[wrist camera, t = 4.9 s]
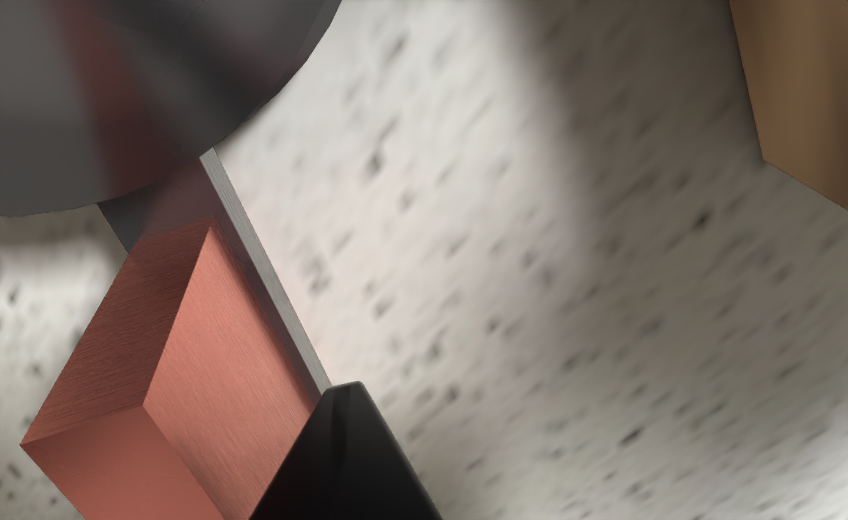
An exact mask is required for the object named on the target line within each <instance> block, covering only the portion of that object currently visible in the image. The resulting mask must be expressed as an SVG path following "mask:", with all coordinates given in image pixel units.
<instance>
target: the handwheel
mask: <svg viewBox="0 0 848 520" xmlns="http://www.w3.org/2000/svg"><path fill="white" fill-rule="evenodd" d="M324 1H325V0H0V216H26V215H33V214H41V213H48V212H55V211H63V210H70V209H75V208H79V207H83V206H86V205H90V204H94V203H97V205H98V206H99V208H100V209H101V211H102V213H103V214H104V216H105V217H106V219H107V221H108V222H109V224H110V225H111V227H112V228H113V230H114V232H115V233H116V235H117V236H118V238H119V240H120V241H121V243H122V244H123V246H124V248H125V249H126V251H127V252H128V254H129V256H128V258H127V259H126V261H125V263H124V265H123V266H122V268H121V270H120V271H119V273H118V275H117V277H116V278H115V280H114V282H113V284H112V285H111V287H110V289H109V291H108V292H107V294H106V296H105V298H104V299H103V301H102V303H101V304H100V306H99V308H98V310H97V311H96V313H95V315H94V317H93V318H92V320H91V322H90V324H89V325H88V327H87V329H86V330H85V332H84V334H83V336H82V337H81V339H80V341H79V343H78V344H77V346H76V348H75V350H74V351H73V353H72V355H71V357H70V358H69V360H68V362H67V363H66V365H65V367H64V369H63V370H62V372H61V374H60V376H59V377H58V379H57V381H56V383H55V384H54V386H53V388H52V389H51V391H50V393H49V395H48V396H47V398H46V400H45V402H44V403H43V405H42V407H41V409H40V410H39V412H38V414H37V416H36V417H35V419H34V421H33V422H32V424H31V426H30V428H29V429H28V431H27V433H26V435H25V436H24V438H23V440H22V442H21V443H20V446H21V447H22V448H23V450H24V451H25V452H26V453H27V454H28V455H29V456H30V457H31V458H32V460H33V461H34V462H35V463H36V464H37V465H38V466H39V467H40V469H41V470H42V471H43V472H44V473H45V474H46V475H47V476H48V477H49V479H50V480H51V481H52V482H53V483H54V484H55V485H56V486H57V488H58V489H59V490H60V491H61V492H62V493H63V494H64V495H65V496H66V498H67V499H68V500H69V501H70V502H71V503H72V504H73V505H74V506H75V508H76V509H77V510H78V511H79V512H80V513H81V514H82V515H83V517H84V518H85V519H86V520H248V519H249V517H250V516H251V514H252V512H253V511H254V509H255V507H256V506H257V504H258V502H259V501H260V499H261V497H262V496H263V494H264V492H265V490H266V489H267V487H268V485H269V484H270V482H271V480H272V479H273V477H274V475H275V474H276V472H277V470H278V469H279V467H280V465H281V464H282V462H283V460H284V458H285V457H286V455H287V453H288V452H289V450H290V448H291V447H292V445H293V443H294V442H295V440H296V438H297V437H298V435H299V433H300V432H301V430H302V428H303V426H304V425H305V423H306V421H307V420H308V418H309V416H310V415H311V413H312V411H313V410H314V408H315V406H316V405H317V403H318V401H319V400H320V398H321V396H322V395H323V393H324V391H325V390H326V389H327V388H329V387H332V385H331V383H330V381H329V379H328V377H327V375H326V373H325V371H324V369H323V367H322V365H321V362H320V360H319V358H318V356H317V354H316V352H315V350H314V348H313V346H312V344H311V342H310V340H309V338H308V336H307V334H306V332H305V330H304V328H303V326H302V324H301V322H300V320H299V318H298V316H297V314H296V312H295V310H294V308H293V306H292V304H291V302H290V300H289V298H288V296H287V294H286V292H285V290H284V288H283V286H282V284H281V282H280V280H279V278H278V276H277V274H276V272H275V270H274V268H273V266H272V264H271V262H270V260H269V258H268V256H267V254H266V252H265V250H264V248H263V246H262V244H261V242H260V240H259V238H258V236H257V234H256V232H255V230H254V228H253V226H252V224H251V222H250V220H249V218H248V216H247V214H246V212H245V210H244V208H243V206H242V204H241V202H240V200H239V198H238V196H237V194H236V192H235V190H234V188H233V186H232V184H231V182H230V180H229V178H228V176H227V174H226V172H225V170H224V168H223V166H222V164H221V162H220V160H219V158H218V156H217V154H216V152H215V150H214V148H213V146H215V145H216V144H217V143H218V142H220V141H221V140H222V139H223V138H225V137H226V136H227V135H228V134H230V133H231V132H232V131H233V130H235V129H236V128H237V127H238V126H239V125H240V124H241V123H242V122H243V121H244V120H245V119H246V118H247V117H248V116H249V115H250V114H251V113H252V111H253V110H254V109H255V108H256V107H257V106H258V105H259V104H260V103H261V102H262V101H263V100H264V99H265V98H266V97H267V95H268V94H269V93H270V92H271V91H272V89H273V88H274V87H275V85H276V84H277V82H278V81H279V79H280V78H281V77H282V75H283V74H284V72H285V71H286V70H287V68H288V67H289V65H290V64H291V62H292V61H293V60H294V58H295V57H296V55H297V54H298V52H299V51H300V49H301V47H302V45H303V43H304V41H305V39H306V37H307V35H308V33H309V31H310V29H311V27H312V25H313V24H314V22H315V20H316V18H317V16H318V14H319V12H320V10H321V8H322V6H323V4H324Z"/></svg>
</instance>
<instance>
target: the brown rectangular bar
mask: <svg viewBox="0 0 848 520" xmlns="http://www.w3.org/2000/svg"><path fill="white" fill-rule="evenodd" d="M729 3H730V8H731V12H732V17H733V21H734V26H735V31H736V35H737V40H738V45H739V49H740V54H741V58H742V63H743V68H744V72H745V77H746V82H747V86H748V91H749V95H750V100H751V105H752V109H753V114H754V119H755V123H756V128H757V132H758V137H759V142H760V146H761V151H762V156H763V160H765V161H767V162H768V163H770V164H772V165H773V166H775V167H777V168H778V169H780V170H782V171H783V172H785V173H787V174H788V175H790V176H792V177H793V178H795V179H797V180H798V181H800V182H802V183H803V184H805V185H807V186H808V187H810V188H812V189H813V190H815V191H817V192H818V193H820V194H822V195H823V196H825V197H826V198H828V199H830V200H831V201H833V202H835V203H836V204H838V205H840V206H841V207H843V208H845V209H846V210H848V0H729Z"/></svg>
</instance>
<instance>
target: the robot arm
mask: <svg viewBox="0 0 848 520" xmlns="http://www.w3.org/2000/svg"><path fill="white" fill-rule="evenodd" d="M248 520H443V518H442V517H441V515H440V513H439V512H438V510H437V508H436V507H435V505H434V503H433V502H432V500H431V498H430V496H429V495H428V493H427V491H426V490H425V488H424V486H423V485H422V483H421V481H420V479H419V478H418V476H417V474H416V473H415V471H414V469H413V468H412V466H411V464H410V462H409V461H408V459H407V457H406V456H405V454H404V452H403V451H402V449H401V447H400V445H399V444H398V442H397V440H396V439H395V437H394V435H393V434H392V432H391V430H390V429H389V427H388V425H387V423H386V422H385V420H384V418H383V417H382V415H381V413H380V412H379V410H378V408H377V406H376V405H375V403H374V401H373V400H372V398H371V396H370V395H369V393H368V391H367V389H366V388H365V386H364V384H363V383H362V382H360V381H355V382H350V383H346V384H341V385H336V386H332V387H329V388H327V389H326V390H325V391H324V393H323V395H322V396H321V398H320V400H319V401H318V403H317V405H316V406H315V408H314V410H313V411H312V413H311V415H310V416H309V418H308V420H307V421H306V423H305V425H304V426H303V428H302V430H301V432H300V433H299V435H298V437H297V438H296V440H295V442H294V443H293V445H292V447H291V448H290V450H289V452H288V453H287V455H286V457H285V458H284V460H283V462H282V464H281V465H280V467H279V469H278V470H277V472H276V474H275V475H274V477H273V479H272V480H271V482H270V484H269V485H268V487H267V489H266V490H265V492H264V494H263V496H262V497H261V499H260V501H259V502H258V504H257V506H256V507H255V509H254V511H253V512H252V514H251V516H250V517H249V519H248Z"/></svg>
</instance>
